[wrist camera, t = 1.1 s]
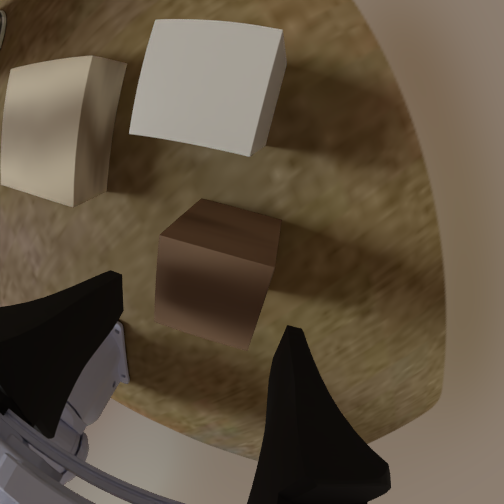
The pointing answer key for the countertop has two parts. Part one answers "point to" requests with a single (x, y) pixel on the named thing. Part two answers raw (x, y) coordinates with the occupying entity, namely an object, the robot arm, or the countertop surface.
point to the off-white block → (210, 84)
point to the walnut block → (215, 272)
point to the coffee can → (2, 26)
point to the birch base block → (60, 127)
